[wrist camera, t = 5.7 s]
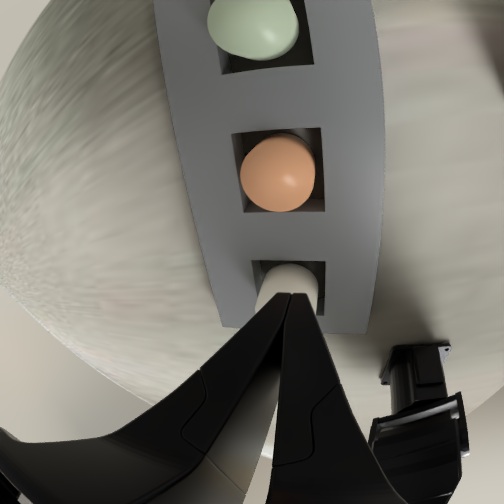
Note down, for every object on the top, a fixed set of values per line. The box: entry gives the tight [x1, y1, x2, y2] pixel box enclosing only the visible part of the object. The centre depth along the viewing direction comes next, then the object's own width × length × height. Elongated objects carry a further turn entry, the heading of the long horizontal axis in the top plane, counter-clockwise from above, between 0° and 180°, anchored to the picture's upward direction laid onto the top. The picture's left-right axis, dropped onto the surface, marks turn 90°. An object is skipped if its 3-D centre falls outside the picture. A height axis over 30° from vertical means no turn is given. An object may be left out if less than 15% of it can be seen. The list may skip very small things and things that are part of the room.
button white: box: [255, 263, 318, 315], centre depth 20 cm, size 4×4×3 cm
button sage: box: [207, 0, 299, 61], centre depth 11 cm, size 4×4×3 cm
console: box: [153, 0, 385, 334], centre depth 17 cm, size 26×12×2 cm, turn 8°
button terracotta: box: [240, 133, 316, 212], centre depth 16 cm, size 4×4×3 cm
